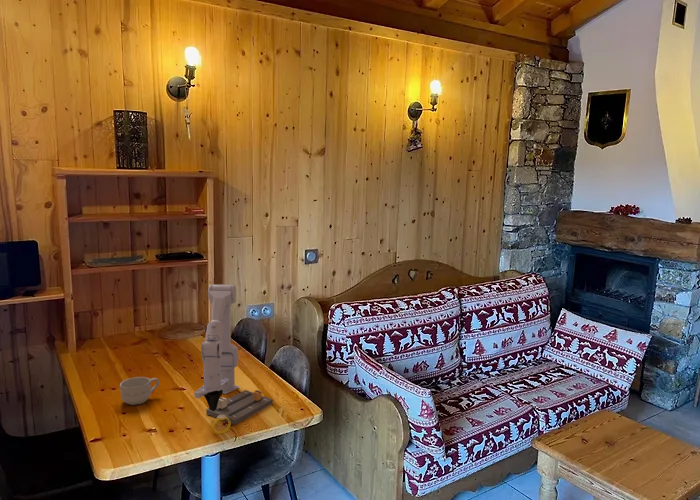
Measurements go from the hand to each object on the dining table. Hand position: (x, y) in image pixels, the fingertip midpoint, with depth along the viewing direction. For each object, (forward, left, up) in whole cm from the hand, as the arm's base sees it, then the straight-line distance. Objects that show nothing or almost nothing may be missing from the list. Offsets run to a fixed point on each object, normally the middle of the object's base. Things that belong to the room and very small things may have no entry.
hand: (212, 409), depth 185 cm
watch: (+10, -6, -3) cm, 12 cm away
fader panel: (+3, +10, -3) cm, 11 cm away
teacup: (-32, -7, -3) cm, 33 cm away
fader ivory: (0, +5, -1) cm, 5 cm away
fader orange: (+6, +16, -1) cm, 18 cm away
